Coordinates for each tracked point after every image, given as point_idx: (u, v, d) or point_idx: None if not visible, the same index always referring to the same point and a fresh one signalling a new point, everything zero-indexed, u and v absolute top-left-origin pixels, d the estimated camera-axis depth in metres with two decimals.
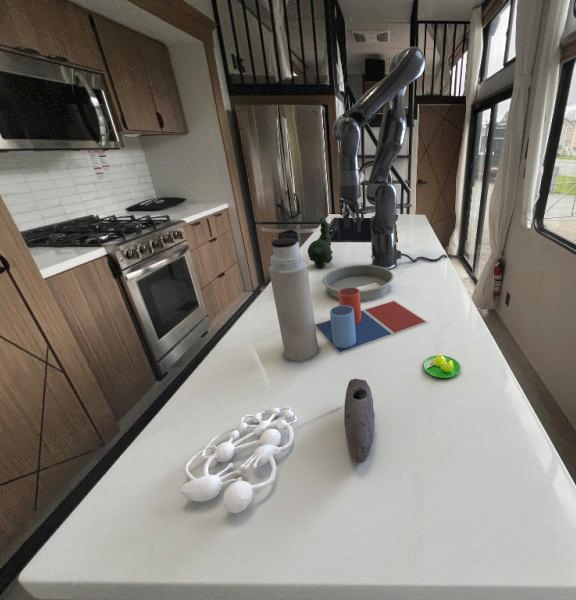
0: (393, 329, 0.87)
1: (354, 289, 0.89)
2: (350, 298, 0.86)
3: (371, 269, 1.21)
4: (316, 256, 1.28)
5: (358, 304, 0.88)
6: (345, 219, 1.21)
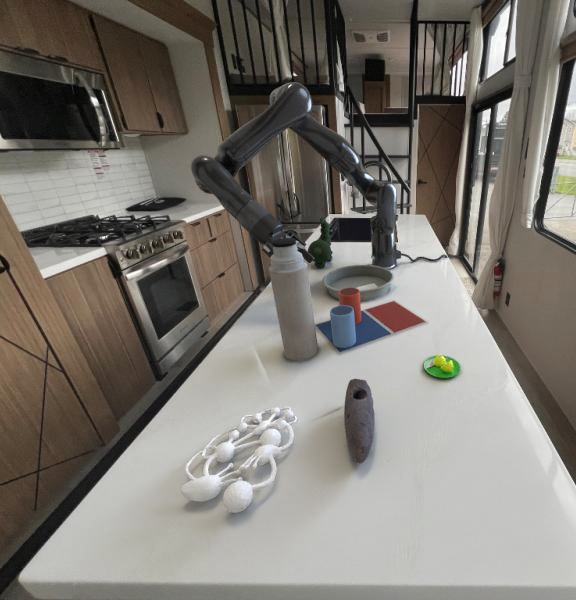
0: (393, 329, 0.87)
1: (354, 289, 0.89)
2: (350, 298, 0.86)
3: (371, 269, 1.21)
4: (316, 256, 1.28)
5: (358, 304, 0.88)
6: None
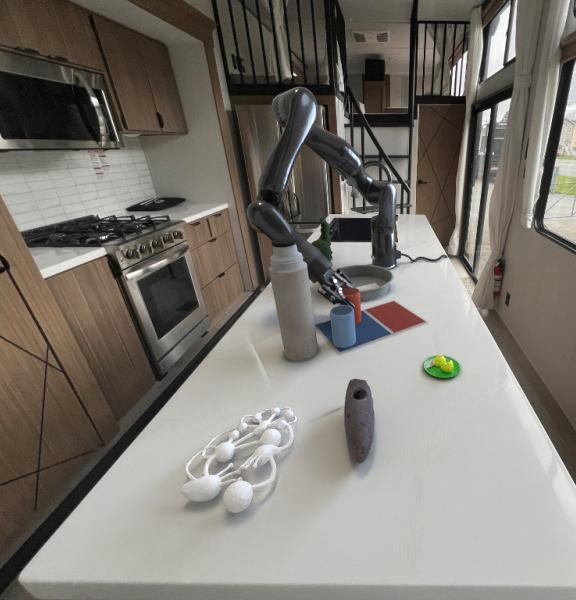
0: (393, 329, 0.87)
1: (354, 289, 0.89)
2: (350, 298, 0.86)
3: (371, 269, 1.21)
4: None
5: (358, 304, 0.88)
6: None
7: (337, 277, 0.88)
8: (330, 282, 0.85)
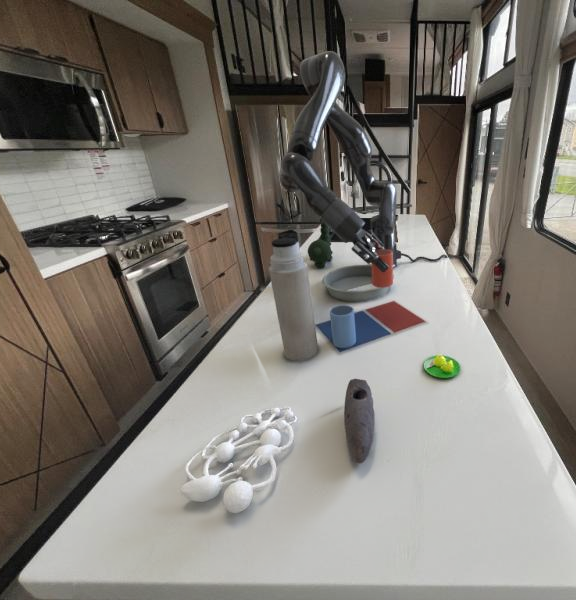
0: (393, 329, 0.87)
1: (386, 250, 0.87)
2: (384, 257, 0.83)
3: (371, 269, 1.21)
4: (316, 256, 1.28)
5: (391, 265, 0.86)
6: None
7: (369, 237, 0.86)
8: (363, 241, 0.82)
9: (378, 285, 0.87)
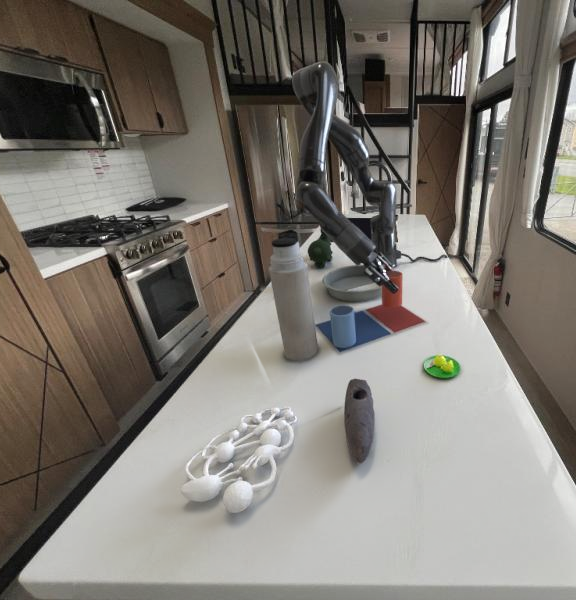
0: (393, 329, 0.87)
1: (396, 272, 0.90)
2: (394, 280, 0.87)
3: None
4: (316, 256, 1.28)
5: (401, 286, 0.89)
6: None
7: (380, 260, 0.89)
8: (375, 264, 0.86)
9: (388, 305, 0.90)
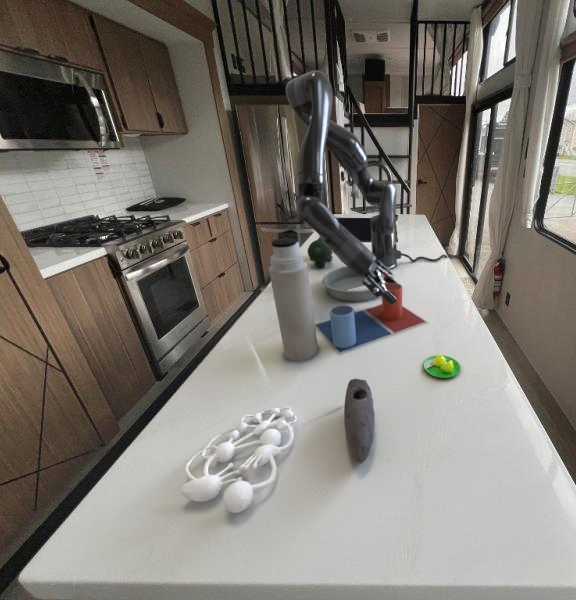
0: (393, 329, 0.87)
1: (396, 284, 0.92)
2: (394, 293, 0.88)
3: None
4: (316, 256, 1.28)
5: (401, 299, 0.91)
6: None
7: (380, 270, 0.90)
8: (374, 274, 0.87)
9: (388, 317, 0.92)
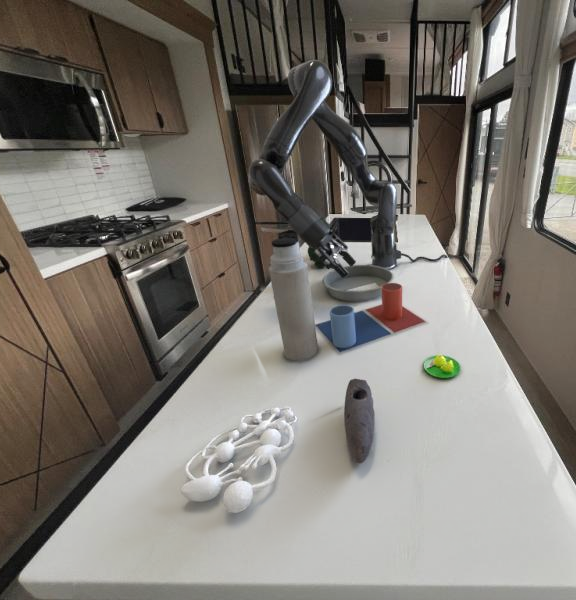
0: (393, 329, 0.87)
1: (396, 284, 0.92)
2: (394, 293, 0.88)
3: (371, 269, 1.21)
4: None
5: (401, 299, 0.91)
6: (344, 257, 0.95)
7: (334, 243, 0.90)
8: (327, 246, 0.87)
9: (388, 317, 0.92)
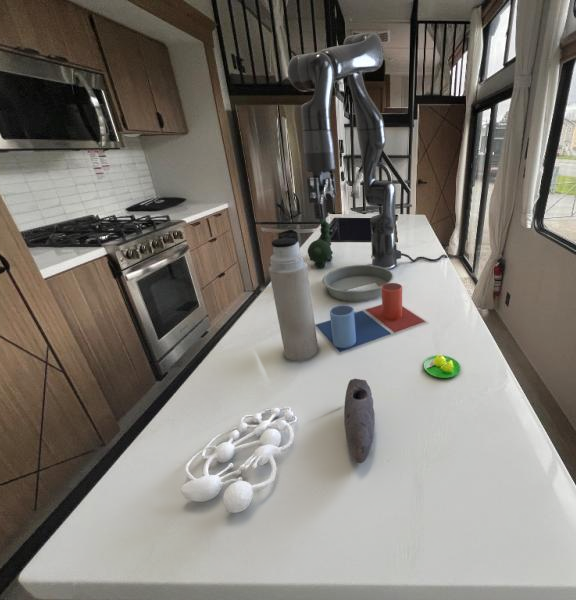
0: (393, 329, 0.87)
1: (396, 284, 0.92)
2: (394, 293, 0.88)
3: (371, 269, 1.21)
4: (316, 256, 1.28)
5: (401, 299, 0.91)
6: (326, 201, 0.91)
7: (329, 183, 0.86)
8: (322, 182, 0.82)
9: (388, 317, 0.92)
